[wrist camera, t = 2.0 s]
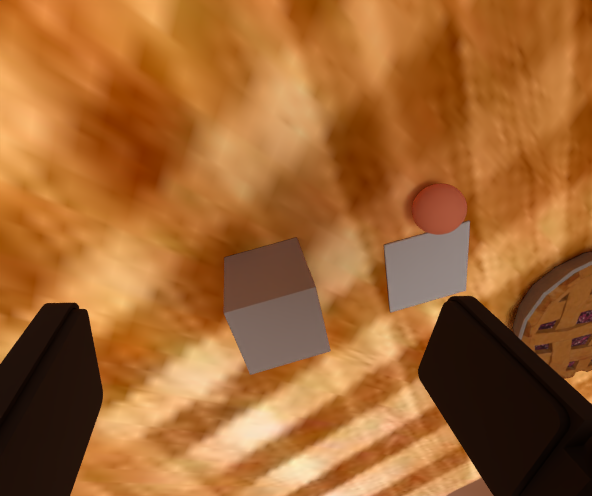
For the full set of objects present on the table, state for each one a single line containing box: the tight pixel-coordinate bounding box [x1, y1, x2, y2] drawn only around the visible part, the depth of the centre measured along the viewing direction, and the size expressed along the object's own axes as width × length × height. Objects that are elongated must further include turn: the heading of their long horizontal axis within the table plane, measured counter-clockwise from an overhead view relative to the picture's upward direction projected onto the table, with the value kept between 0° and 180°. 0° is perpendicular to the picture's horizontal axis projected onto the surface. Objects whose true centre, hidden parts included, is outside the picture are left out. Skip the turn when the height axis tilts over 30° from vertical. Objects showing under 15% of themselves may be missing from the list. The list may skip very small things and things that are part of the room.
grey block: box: [224, 237, 330, 375], centre depth 33 cm, size 8×8×9 cm
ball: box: [412, 184, 467, 235], centre depth 34 cm, size 5×5×5 cm
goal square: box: [384, 221, 470, 312], centre depth 40 cm, size 10×10×1 cm
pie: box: [513, 252, 592, 379], centre depth 47 cm, size 22×22×5 cm
